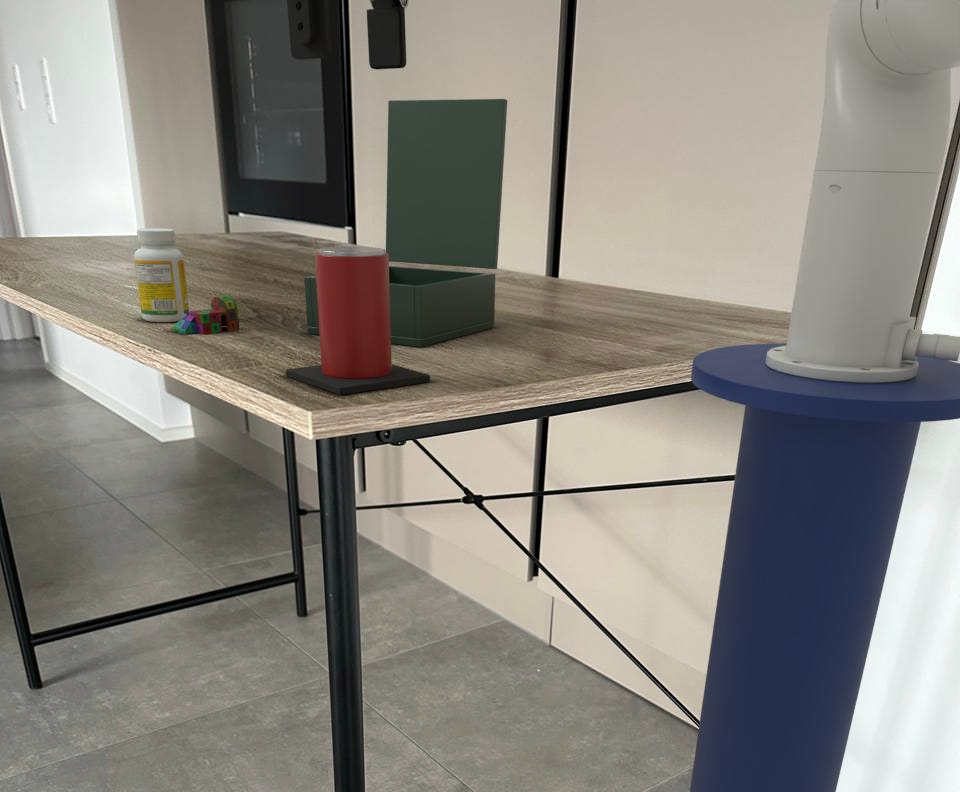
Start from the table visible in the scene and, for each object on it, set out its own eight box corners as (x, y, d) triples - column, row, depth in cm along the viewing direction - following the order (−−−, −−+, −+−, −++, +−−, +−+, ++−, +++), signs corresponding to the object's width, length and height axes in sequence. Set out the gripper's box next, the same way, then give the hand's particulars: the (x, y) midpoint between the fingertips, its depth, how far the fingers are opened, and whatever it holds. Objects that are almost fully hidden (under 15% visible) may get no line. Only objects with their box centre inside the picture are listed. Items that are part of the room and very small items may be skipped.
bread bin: (421, 347, 95) (420, 286, 93) (307, 333, 102) (303, 276, 99) (494, 327, 108) (495, 273, 105) (388, 316, 114) (387, 265, 111)
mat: (430, 382, 81) (430, 374, 80) (340, 395, 75) (339, 387, 75) (372, 365, 87) (372, 358, 86) (285, 376, 82) (285, 369, 81)
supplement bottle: (162, 324, 106) (150, 231, 101) (132, 319, 108) (119, 229, 104) (200, 318, 110) (190, 229, 105) (170, 314, 112) (159, 227, 108)
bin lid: (504, 98, 98) (523, 105, 102) (388, 100, 104) (410, 106, 108) (494, 269, 104) (512, 269, 108) (385, 261, 111) (406, 261, 114)
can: (405, 370, 82) (402, 249, 77) (365, 382, 77) (360, 254, 73) (349, 362, 84) (343, 245, 80) (307, 373, 80) (299, 249, 75)
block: (217, 325, 106) (214, 293, 104) (239, 329, 103) (236, 296, 102) (171, 331, 102) (166, 297, 100) (192, 335, 99) (188, 301, 98)
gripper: (297, -295, 55) (321, 50, 63) (448, -205, 68) (452, 69, 76) (201, -269, 58) (235, 56, 66) (363, -188, 71) (375, 73, 79)
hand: (351, 63), depth 71 cm, fingers open, 9 cm apart
